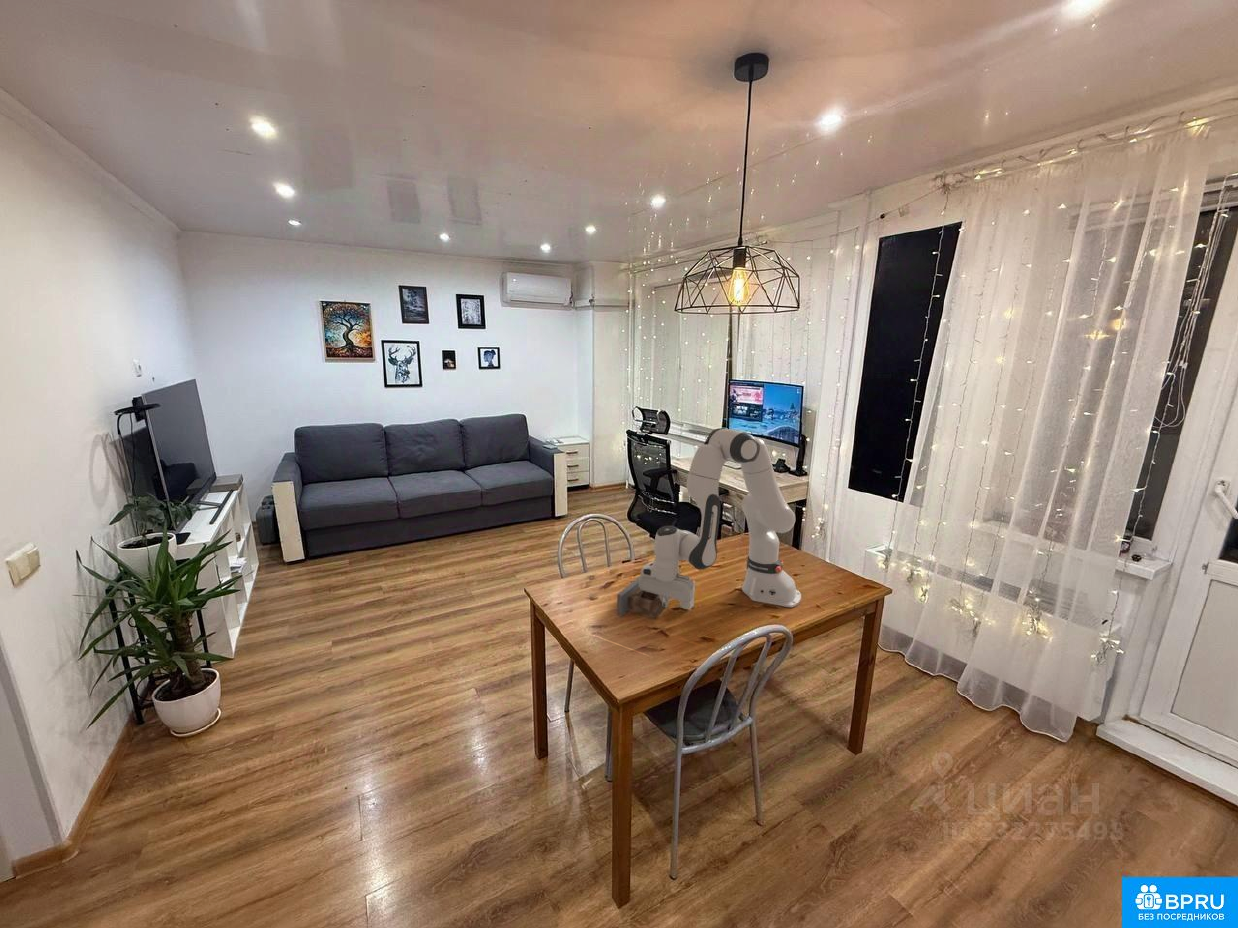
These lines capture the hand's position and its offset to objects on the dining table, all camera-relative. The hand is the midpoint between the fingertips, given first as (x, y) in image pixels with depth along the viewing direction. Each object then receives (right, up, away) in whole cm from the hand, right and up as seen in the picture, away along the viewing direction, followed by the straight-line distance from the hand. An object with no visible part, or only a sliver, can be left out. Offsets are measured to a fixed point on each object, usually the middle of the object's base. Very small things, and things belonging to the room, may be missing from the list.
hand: (664, 606), depth 179 cm
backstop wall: (-11, -1, +8) cm, 14 cm away
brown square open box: (-6, -2, +4) cm, 8 cm away
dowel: (+9, -2, +6) cm, 11 cm away
